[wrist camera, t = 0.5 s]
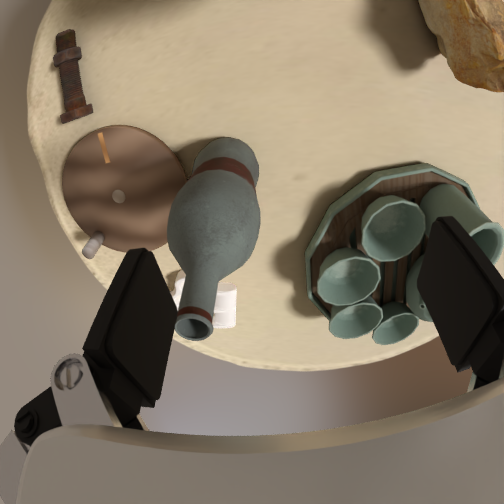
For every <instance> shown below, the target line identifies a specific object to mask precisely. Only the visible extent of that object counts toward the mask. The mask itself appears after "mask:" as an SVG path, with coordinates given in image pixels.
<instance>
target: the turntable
mask: <svg viewBox="0 0 504 504" xmlns="http://www.w3.org/2000/svg"><path fill="white" fill-rule="evenodd" d="M186 182H187V179H186V175H185V172H184V170H183V168H182V166H181V164H180V162H179V160H178V159H177V157H176V156H175V154H174V153H173V152H172V150H171V149H170V148H169V147H168V146H167V145H166V144H165V143H164V142H163V141H161V140H160V139H159V138H157V137H156V136H154V135H153V134H151V133H149V132H147V131H145V130H142V129H140V128H137V127H133V126H127V125H112V126H107V127H103V128H101V129H98V130H96V131H94V132H92V133H90V134H89V135H87V136H85V137H84V138H83V139H82V140H80V141H79V142H78V143H77V144H76V145H75V147H74V148H73V149H72V151H71V152H70V154H69V156H68V158H67V160H66V163H65V166H64V171H63V181H62V185H63V193H64V198H65V201H66V204H67V207H68V209H69V211H70V213H71V215H72V217H73V218H74V220H75V221H76V223H77V224H78V225H79V227H80V228H81V229H82V230H83V231H84V232H85V233H86V234H87V235H89V236H90V237H91V238H90V239H89V241H88V242H87V244H86V245H85V246H84V248H83V249H82V254H83V255H84V256H85V257H86V258H88V259H92V258H93V257H94V256H95V254H96V252H97V251H98V249H99V248H100V246H101V244H102V245H104V246H106V247H108V248H110V249H113V250H117V251H121V252H127V251H128V250H130V249H136V248H146V249H147V250H148V251H151V250H154V249H157V248H159V247H161V246H163V245H164V244H166V243H167V242H168V241H167V224H168V217H169V213H170V209H171V205H172V203H173V201H174V199H175V197H176V195H177V193H178V192H179V191H180V189H181V188H182V187H183V186H184V185H185V184H186Z"/></svg>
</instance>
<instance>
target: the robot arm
mask: <svg viewBox="0 0 504 504" xmlns="http://www.w3.org/2000/svg"><path fill="white" fill-rule="evenodd" d="M417 289H418V291H419V293H420V295H421V297H422V299H423V301H424V303H425V305H426V307H427V309H428V312H429V314H430V316H431V318H432V320H433V322H434V324H435V327H436V329H437V331H438V333H439V336H440V338H441V340H442V343H443V345H444V347H445V350H446V352H447V355H448V357H449V360H450V362H451V364H452V365H455V367H456V370H457V372H461V371H463V370H466V369H469V368H470V367H472V370H473V374H472V377H471V381H470V384H469V388H468V391H467V393H465V394H463V395H460V396H457V397H455V398H452V399H449V400H446V401H444V402H441V403H438V404H435V405H432V406H428V407H425V408H422V409H419V410H415V411H412V412H409V413H405V414H401V415H397V416H394V417H389V418H385V419H381V420H376V421H372V422H367V423H362V424H357V425H352V426H346V427H340V428H334V429H327V430H320V431H312V432H302V433H292V434H280V435H261V436H205V435H187V434H174V433H163V432H152V431H149V429H148V428H147V426H146V425H145V423H144V421H143V420H142V418H141V416H140V414H139V413H140V408H141V406H142V407H151V408H154V407H155V401H156V400H158V399H159V398H160V395H161V391H162V386H163V381H164V376H165V370H166V366H167V361H168V356H169V351H170V346H171V342H172V338H173V333H174V329H175V324H176V320H177V315H178V311H177V306H176V304H175V302H174V300H173V298H172V295H171V293H170V291H169V289H168V287H167V284H166V282H165V280H164V278H163V275H162V273H161V271H160V268H159V266H158V264H157V261H156V259H155V257H154V254H153V253H152V252H151V251H148V250H147V249H146V248H136V249H130V250H128V251H127V253H126V255H125V257H124V259H123V261H122V263H121V265H120V267H119V269H118V271H117V273H116V275H115V277H114V279H113V281H112V283H111V285H110V287H109V289H108V291H107V293H106V295H105V297H104V299H103V302H102V304H101V306H100V308H99V310H98V313H97V315H96V317H95V319H94V322H93V324H92V326H91V329H90V331H89V334H88V336H87V338H86V341H85V343H84V346H83V348H82V349H83V350H84V354H83V356H81V355H79V354H69V355H67V356H64V357H63V358H62V359H60V360H59V361H58V362H57V364H56V365H55V366H54V368H53V371H52V373H51V378H50V379H51V387H49V388H48V389H47V390H45V391H44V392H42V393H41V394H40V395H38V396H37V397H36V398H34V399H33V400H31V401H30V402H29V403H27V404H26V405H25V406H23V407H22V408H21V409H20V410H19V412H18V413H17V416H16V418H15V425H14V427H15V431H13V430H11V432H10V433H9V434H8V436H7V437H6V438H5V440H4V441H3V442H2V444H1V445H0V496H1V498H2V500H3V501H4V503H5V504H504V279H503V278H502V276H501V275H500V273H499V272H498V271H497V269H496V268H495V266H494V265H493V264H492V262H491V261H490V260H489V259H488V257H487V256H486V255H485V253H484V252H483V251H482V250H481V248H480V247H479V246H478V245H477V243H476V242H475V241H474V240H473V238H472V237H471V236H470V235H469V234H468V232H467V231H466V230H465V229H464V228H463V227H462V226H461V224H460V223H459V222H458V221H457V220H456V219H455V218H454V217H453V216H442V217H437V219H436V220H435V221H434V222H433V223H432V226H431V230H430V234H429V239H428V243H427V246H426V250H425V254H424V258H423V261H422V265H421V268H420V272H419V275H418V278H417Z"/></svg>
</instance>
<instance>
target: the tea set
mask: <svg viewBox="0 0 504 504" xmlns="http://www.w3.org/2000/svg"><path fill="white" fill-rule="evenodd" d="M442 216H453V217H454V218H455V219H456V220H457V221H458V222H459V223H460V224H461V226H462V227H463V228H464V229H465V230H466V231H467V232H468V234H469V235H470V236H471V237H472V238H473V240H474V241H475V242H476V243H477V245H478V246H479V247H480V248H481V250H482V251H483V252H484V253H485V255H486V256H487V257H488V259H489V260H490V261H491V262H492V264H493V265H495V263H496V262H497V261H498V259H499V258H500V256H501V253H502V250H503V248H504V229H503V228H502V227H501V226H500V224H499V223H494V222H492V221H491V220H490V219H489V218H488V217H487V216H486V215H485V214H484V213H483V212H482V211H481V210H480V208H479V205H478V203H477V201H476V199H475V197H474V195H473V193H472V191H471V189H470V187H469V185H468V184H467V183H466V182H465V181H464V180H462V179H460V178H458V177H456V176H454V175H452V174H450V173H448V172H446V171H444V170H441V169H439V168H437V167H435V166H433V165H430V164H428V163H422V164H416V165H410V166H404V167H398V168H393V169H387V170H382V171H377V172H374V173H372V174H371V175H370V176H368V177H367V178H366V179H364V180H363V181H362V182H360V183H359V184H358V185H356V186H355V187H354V188H352V189H351V190H350V191H348V192H347V193H346V194H344V195H343V196H342V197H340V198H339V199H338V200H336V201H335V202H334V203H332V204H331V205H330V206H329V208H328V210H327V212H326V214H325V216H324V218H323V219H322V221H321V223H320V225H319V227H318V229H317V231H316V233H315V234H314V236H313V238H312V240H311V242H310V244H309V246H308V247H307V249H306V251H305V264H306V281H307V294H308V298H309V299H310V300H311V301H312V302H313V303H314V304H315V305H316V307H317V308H318V309H319V310H320V311H321V312H322V313H323V314H324V315H325V317H326V318H327V319H328V320H329V331H330V332H331V333H332V334H333V335H334V336H335V337H339V338H343V339H350V338H358V337H360V336H363V335H365V334H368V333H370V332H371V331H372V330H373V336H372V338H373V340H374V341H375V343H377V344H381V345H388V344H394V343H397V342H399V341H401V340H404V339H405V338H407V337H408V336H409V335H411V334H412V333H413V332H414V331H415V329H416V328H417V327H418V325H419V319H421V320H423V321H429V322H433V320H432V318H431V316H430V314H429V312H428V309H427V307H426V305H425V303H424V301H423V299H422V297H421V295H420V293H419V291H418V289H417V278H418V275H419V272H420V268H421V265H422V261H423V258H424V254H425V250H426V246H427V243H428V239H429V234H430V230H431V226H432V223H433V222H434V221H435V220H436V219H437V217H442Z"/></svg>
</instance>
